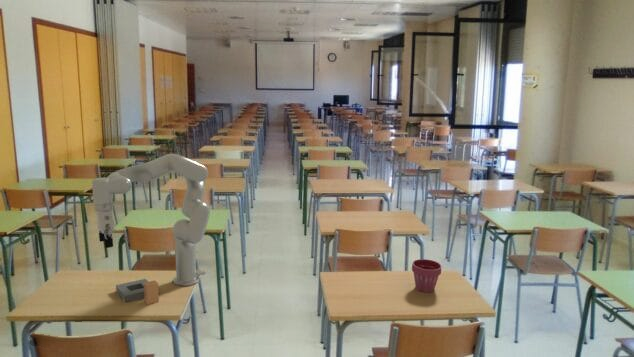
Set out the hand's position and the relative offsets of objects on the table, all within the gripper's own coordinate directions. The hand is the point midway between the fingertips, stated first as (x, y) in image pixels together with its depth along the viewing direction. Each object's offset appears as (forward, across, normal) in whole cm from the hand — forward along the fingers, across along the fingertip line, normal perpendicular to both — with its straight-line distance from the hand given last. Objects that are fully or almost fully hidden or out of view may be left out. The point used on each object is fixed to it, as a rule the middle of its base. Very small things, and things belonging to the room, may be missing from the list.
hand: (106, 244), depth 224 cm
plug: (+28, -9, -16) cm, 33 cm away
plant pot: (+29, -66, -133) cm, 151 cm away
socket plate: (+28, +4, -12) cm, 31 cm away
